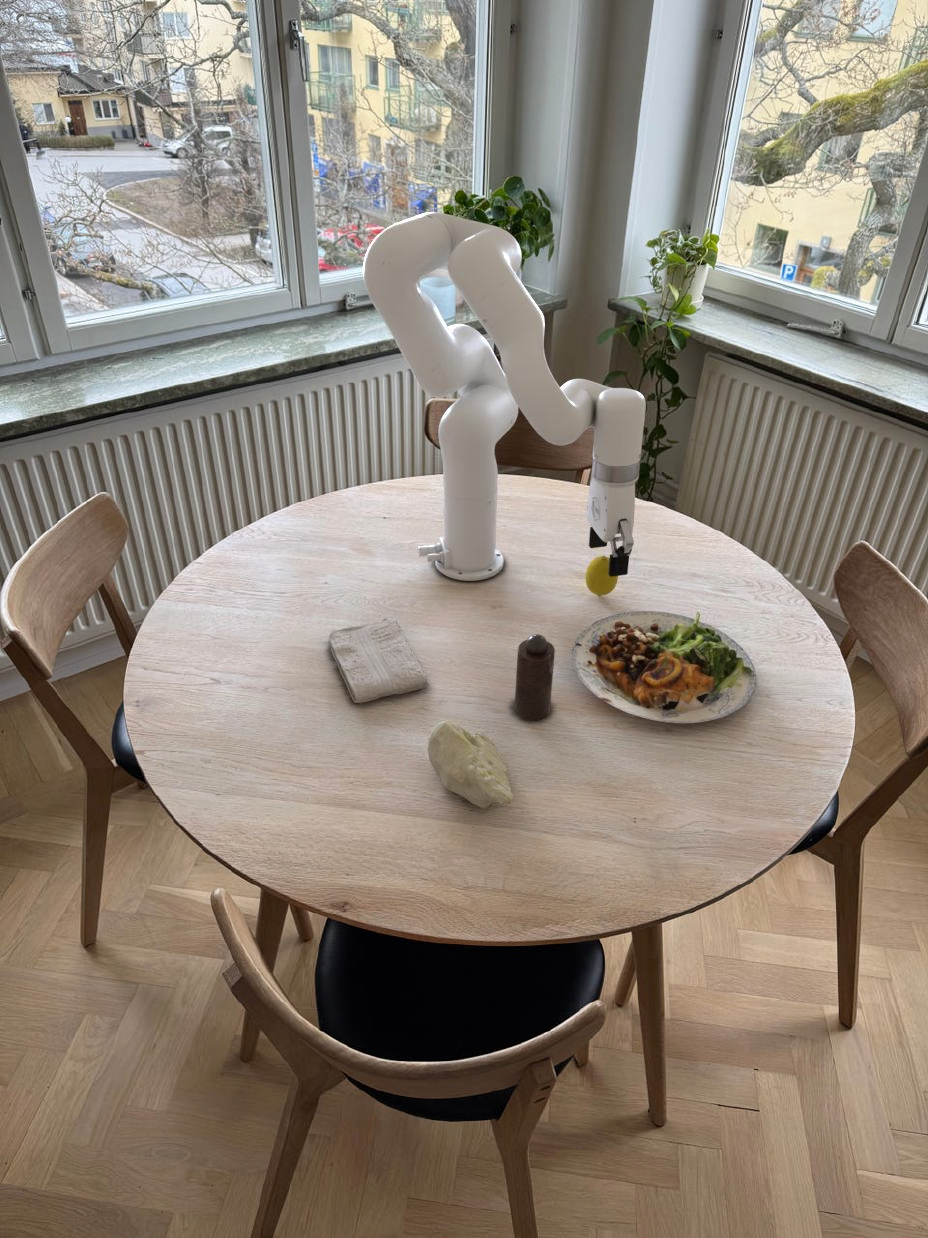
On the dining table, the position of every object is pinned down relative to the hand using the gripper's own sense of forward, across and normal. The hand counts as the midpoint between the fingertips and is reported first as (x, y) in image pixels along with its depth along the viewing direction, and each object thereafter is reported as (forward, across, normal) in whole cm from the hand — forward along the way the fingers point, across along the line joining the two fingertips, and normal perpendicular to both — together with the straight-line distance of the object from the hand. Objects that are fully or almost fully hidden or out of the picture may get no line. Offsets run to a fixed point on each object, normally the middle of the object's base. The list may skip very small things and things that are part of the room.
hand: (607, 560), depth 153 cm
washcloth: (+7, +12, -42) cm, 44 cm away
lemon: (+8, 0, -1) cm, 8 cm away
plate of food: (+8, +22, +1) cm, 24 cm away
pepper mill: (+7, +26, -21) cm, 34 cm away
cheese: (+8, +42, -32) cm, 53 cm away
